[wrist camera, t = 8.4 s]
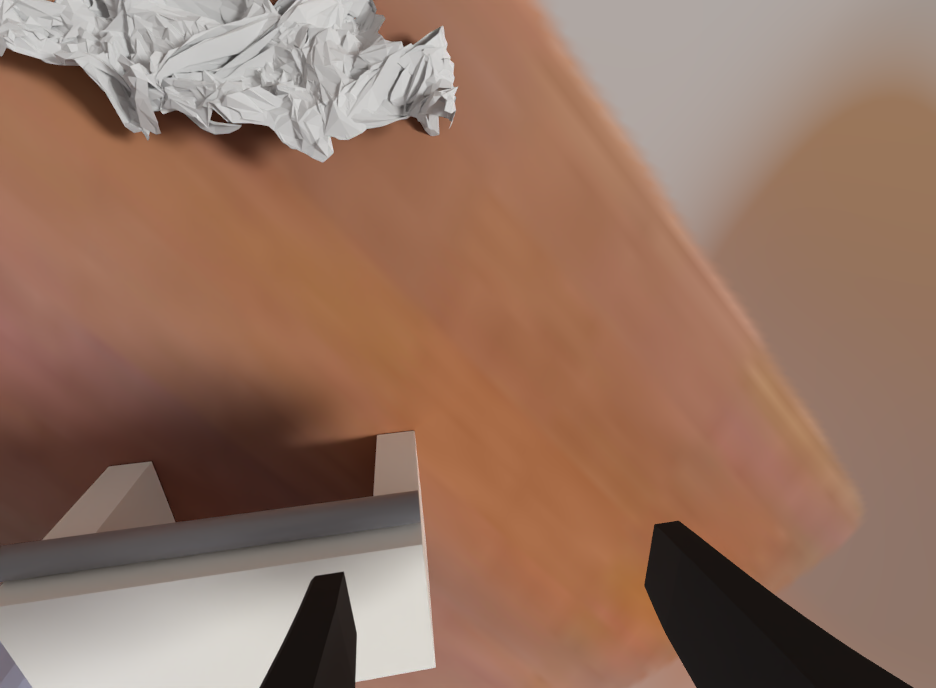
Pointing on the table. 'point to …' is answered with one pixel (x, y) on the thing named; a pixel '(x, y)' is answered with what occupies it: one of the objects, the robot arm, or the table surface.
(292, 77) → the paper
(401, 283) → the table surface
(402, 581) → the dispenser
